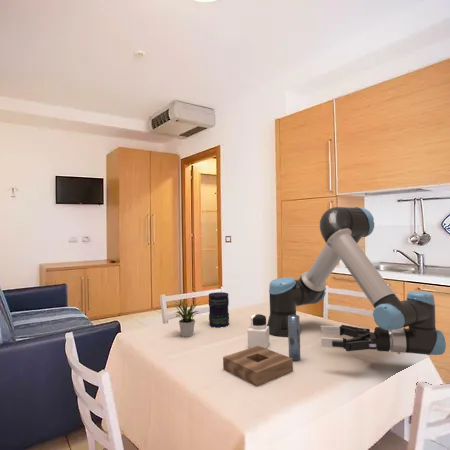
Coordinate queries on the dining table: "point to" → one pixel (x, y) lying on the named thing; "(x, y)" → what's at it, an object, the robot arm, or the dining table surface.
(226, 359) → the socket block
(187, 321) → the house plant
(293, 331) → the pin
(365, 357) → the dining table surface
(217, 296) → the storage jar
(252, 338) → the medicine bottle
